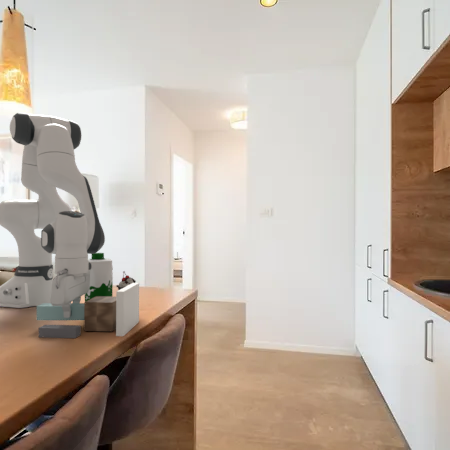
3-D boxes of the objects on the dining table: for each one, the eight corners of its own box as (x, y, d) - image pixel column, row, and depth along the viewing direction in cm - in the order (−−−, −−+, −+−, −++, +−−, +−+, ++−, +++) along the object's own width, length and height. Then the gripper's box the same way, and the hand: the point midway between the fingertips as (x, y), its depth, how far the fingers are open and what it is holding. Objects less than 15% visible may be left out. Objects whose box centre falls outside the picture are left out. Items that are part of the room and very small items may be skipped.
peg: (36, 320, 100) (36, 306, 100) (43, 316, 104) (43, 303, 104) (100, 320, 101) (100, 306, 101) (104, 316, 105) (104, 303, 105)
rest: (38, 337, 93) (38, 327, 93) (45, 333, 96) (45, 324, 96) (75, 338, 93) (75, 328, 93) (80, 334, 96) (80, 325, 96)
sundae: (117, 320, 111) (117, 272, 111) (114, 314, 117) (114, 269, 117) (138, 317, 113) (138, 271, 113) (134, 313, 119) (135, 268, 119)
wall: (116, 336, 95) (116, 291, 95) (132, 321, 109) (132, 282, 109) (123, 336, 95) (123, 291, 95) (139, 321, 109) (139, 282, 109)
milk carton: (109, 308, 126) (109, 252, 126) (114, 314, 118) (114, 254, 118) (83, 311, 122) (83, 253, 122) (86, 317, 114) (86, 255, 114)
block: (84, 330, 98) (84, 302, 98) (96, 322, 106) (96, 296, 106) (112, 331, 98) (112, 302, 98) (122, 323, 106) (122, 296, 106)
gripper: (68, 271, 92) (68, 324, 92) (93, 263, 113) (93, 306, 113) (44, 271, 92) (43, 324, 92) (73, 263, 112) (73, 306, 112)
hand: (71, 314), depth 103 cm, fingers closed on peg, 4 cm apart
